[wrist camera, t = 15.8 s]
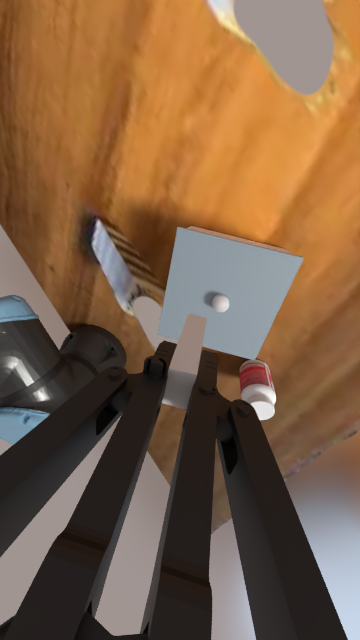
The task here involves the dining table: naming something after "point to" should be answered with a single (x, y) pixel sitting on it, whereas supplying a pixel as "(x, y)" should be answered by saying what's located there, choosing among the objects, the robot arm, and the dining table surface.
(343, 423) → the dining table surface
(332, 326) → the dining table surface
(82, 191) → the dining table surface
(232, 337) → the lid
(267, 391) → the pill bottle
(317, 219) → the dining table surface
